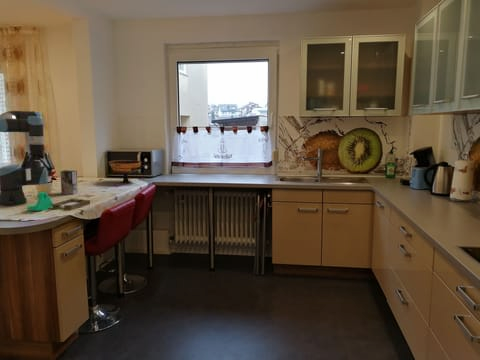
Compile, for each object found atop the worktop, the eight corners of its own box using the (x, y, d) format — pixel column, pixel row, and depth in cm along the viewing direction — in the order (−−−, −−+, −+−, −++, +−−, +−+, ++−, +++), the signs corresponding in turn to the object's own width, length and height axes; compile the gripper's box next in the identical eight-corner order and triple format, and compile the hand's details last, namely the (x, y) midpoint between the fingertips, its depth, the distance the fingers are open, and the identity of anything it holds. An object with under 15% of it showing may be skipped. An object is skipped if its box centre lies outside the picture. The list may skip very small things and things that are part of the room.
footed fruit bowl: (97, 182, 307) (97, 161, 304) (118, 178, 330) (118, 159, 327) (133, 187, 293) (133, 164, 290) (152, 182, 316) (152, 161, 314)
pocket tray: (52, 208, 219) (52, 204, 219) (72, 202, 235) (71, 198, 235) (71, 210, 216) (71, 206, 216) (90, 203, 232) (89, 200, 232)
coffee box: (78, 192, 265) (77, 170, 262) (73, 194, 259) (72, 171, 256) (66, 192, 266) (65, 169, 264) (61, 193, 260) (59, 171, 257)
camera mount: (42, 206, 222) (41, 189, 221) (53, 207, 221) (52, 190, 219) (26, 211, 211) (25, 193, 209) (37, 212, 209) (36, 194, 207)
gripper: (12, 143, 209) (15, 180, 213) (51, 145, 204) (53, 183, 207) (23, 142, 216) (25, 178, 220) (60, 144, 211) (62, 181, 214)
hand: (38, 180), depth 214 cm, fingers open, 13 cm apart
